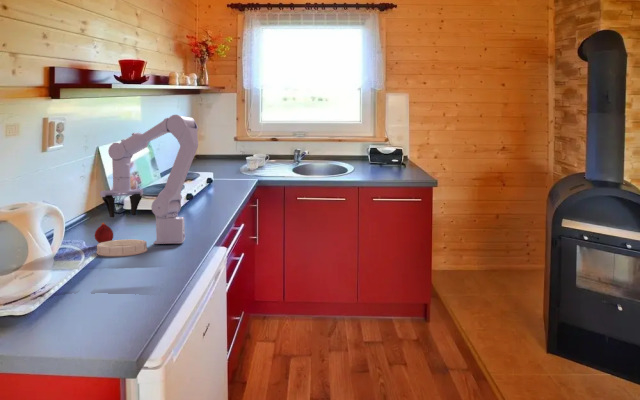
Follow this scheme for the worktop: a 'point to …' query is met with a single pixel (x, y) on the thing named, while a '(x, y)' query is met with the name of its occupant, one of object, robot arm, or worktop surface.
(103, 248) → the dish
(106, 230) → the onion
